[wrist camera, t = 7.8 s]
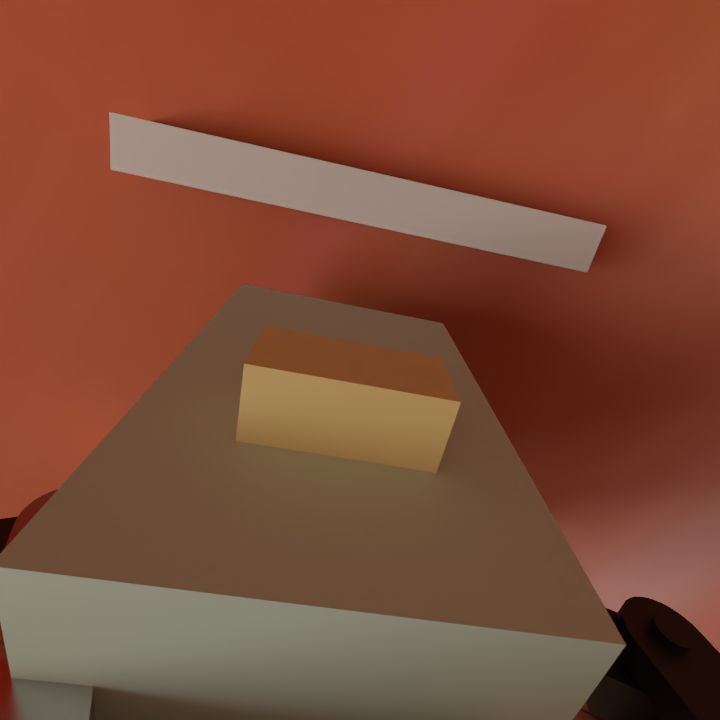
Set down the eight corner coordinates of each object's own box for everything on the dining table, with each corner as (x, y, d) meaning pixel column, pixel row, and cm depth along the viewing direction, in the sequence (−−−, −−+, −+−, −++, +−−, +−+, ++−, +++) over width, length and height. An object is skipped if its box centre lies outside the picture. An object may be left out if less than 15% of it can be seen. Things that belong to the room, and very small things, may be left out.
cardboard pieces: (570, 216, 13) (1131, 353, 4) (455, 511, 17) (571, 903, 8) (148, 120, 11) (-642, -49, 2) (145, 463, 16) (-129, 857, 7)
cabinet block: (454, 284, 11) (686, 560, 3) (387, 504, 13) (431, 916, 6) (247, 242, 10) (-32, 453, 3) (223, 479, 13) (54, 896, 6)
